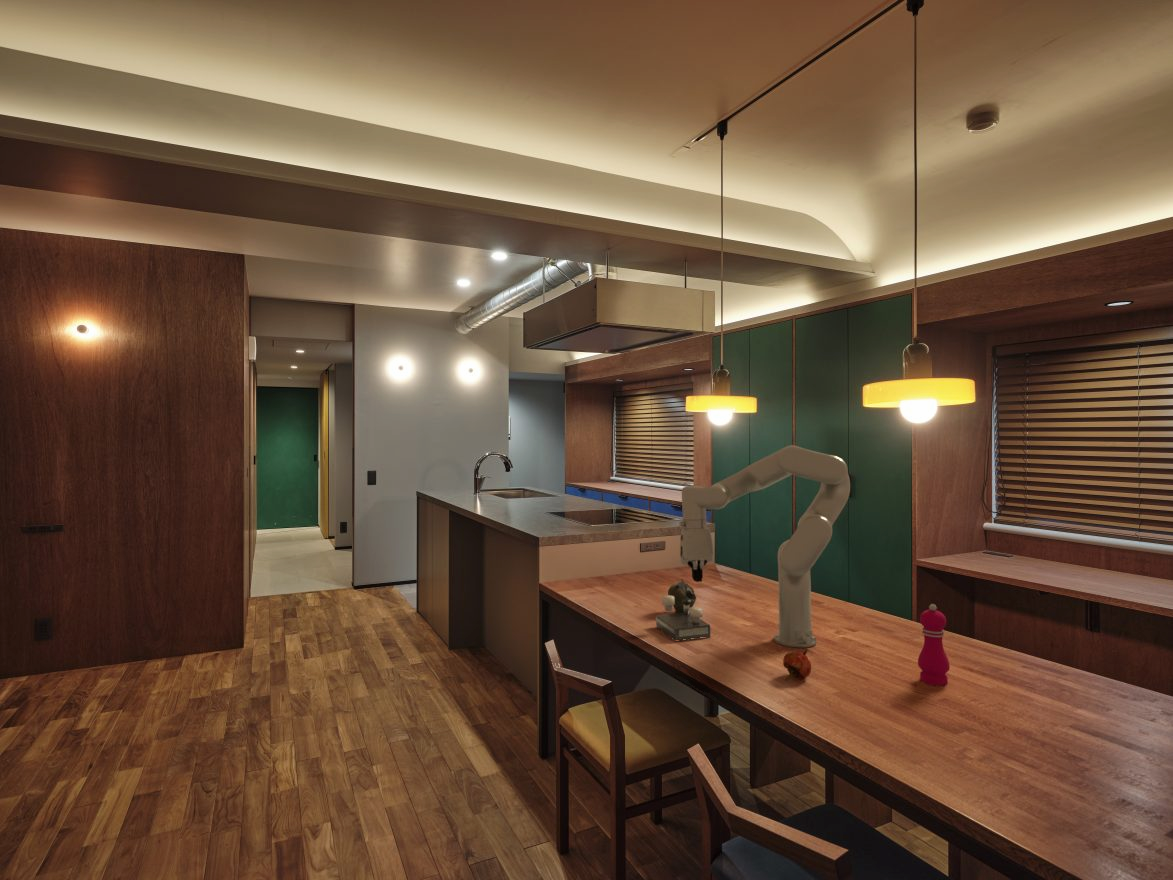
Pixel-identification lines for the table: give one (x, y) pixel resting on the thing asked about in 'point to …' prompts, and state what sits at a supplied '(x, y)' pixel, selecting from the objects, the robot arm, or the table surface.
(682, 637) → the mount
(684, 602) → the dark brown round knob
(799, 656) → the red round fruit
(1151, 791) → the table surface
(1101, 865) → the table surface
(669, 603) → the knob
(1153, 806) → the table surface
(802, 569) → the robot arm
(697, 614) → the knob
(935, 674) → the pepper mill
